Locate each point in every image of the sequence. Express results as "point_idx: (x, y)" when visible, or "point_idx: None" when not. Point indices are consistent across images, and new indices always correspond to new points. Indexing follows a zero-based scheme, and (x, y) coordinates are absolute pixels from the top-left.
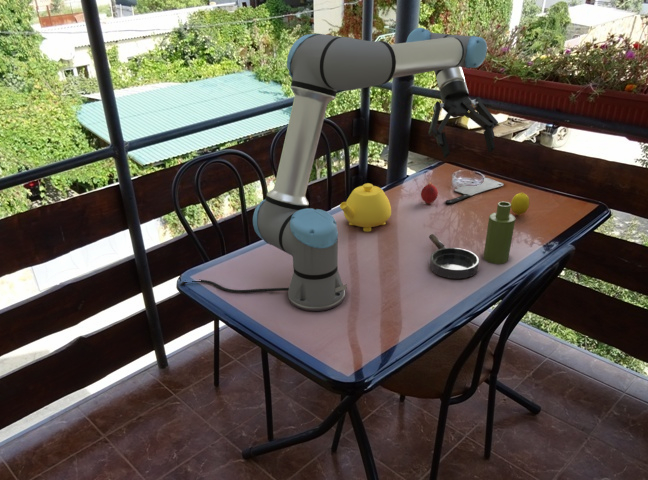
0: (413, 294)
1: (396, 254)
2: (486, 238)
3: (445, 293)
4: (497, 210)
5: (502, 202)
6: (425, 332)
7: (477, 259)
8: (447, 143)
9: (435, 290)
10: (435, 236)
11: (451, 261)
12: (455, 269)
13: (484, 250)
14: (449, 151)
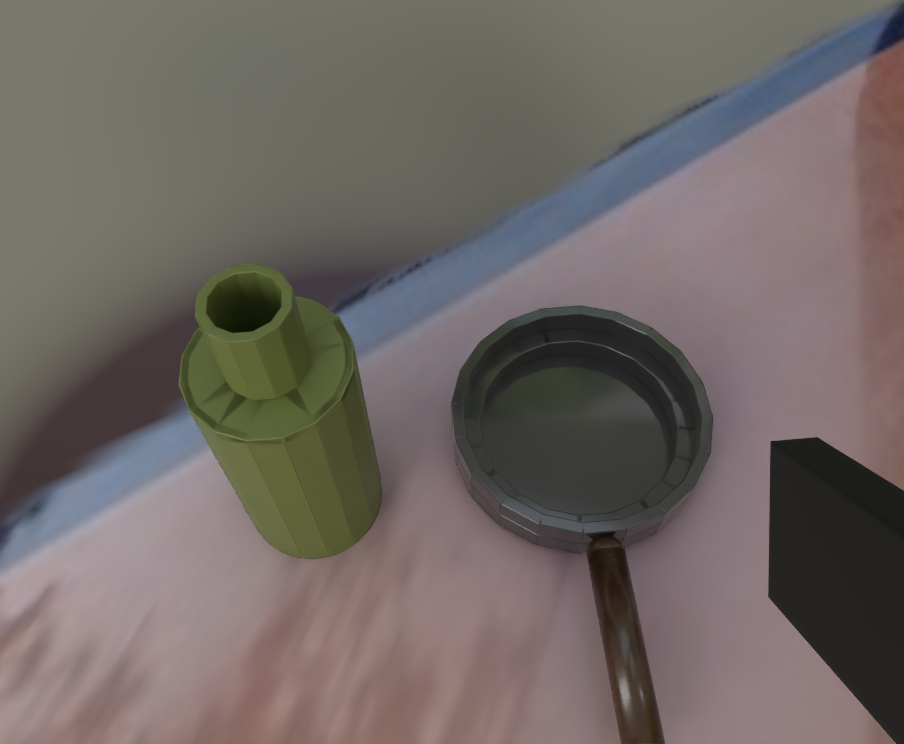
0: (800, 272)
1: None
2: (367, 453)
3: (662, 260)
4: (300, 329)
5: (239, 333)
6: (775, 87)
7: (464, 379)
8: (875, 518)
9: (700, 284)
10: (630, 706)
11: (570, 487)
12: (605, 314)
13: (373, 496)
14: (785, 455)
